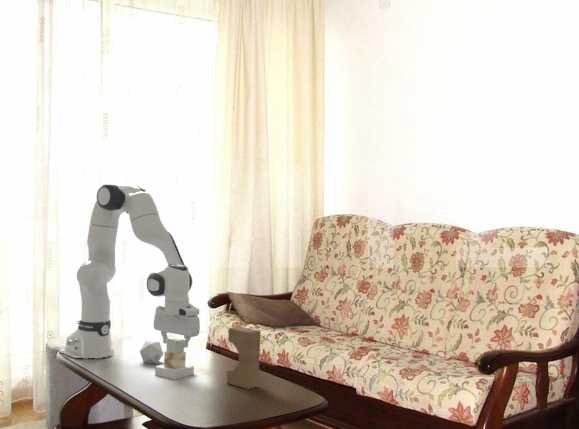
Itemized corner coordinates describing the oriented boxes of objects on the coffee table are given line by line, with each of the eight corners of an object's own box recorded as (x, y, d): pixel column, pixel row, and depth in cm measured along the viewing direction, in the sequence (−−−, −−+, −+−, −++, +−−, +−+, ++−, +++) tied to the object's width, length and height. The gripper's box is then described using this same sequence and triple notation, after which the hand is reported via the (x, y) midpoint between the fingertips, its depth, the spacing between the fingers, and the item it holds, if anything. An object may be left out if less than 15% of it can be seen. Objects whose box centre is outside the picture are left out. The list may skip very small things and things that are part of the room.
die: (151, 368, 280) (167, 346, 283) (132, 355, 281) (148, 333, 284) (154, 370, 288) (169, 349, 291) (136, 358, 289) (151, 337, 292)
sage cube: (166, 351, 269) (166, 339, 269) (174, 349, 273) (175, 337, 272) (175, 353, 266) (175, 341, 266) (183, 351, 270) (184, 339, 270)
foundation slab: (155, 374, 268) (155, 366, 268) (173, 369, 277) (174, 361, 277) (175, 379, 263) (175, 371, 263) (193, 374, 271) (194, 366, 271)
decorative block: (225, 383, 261) (227, 327, 260) (237, 380, 265) (239, 326, 264) (247, 390, 253) (250, 333, 252) (259, 387, 257) (261, 330, 257)
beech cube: (164, 366, 269) (164, 351, 269) (174, 363, 274) (174, 349, 273) (175, 369, 266) (175, 354, 266) (185, 366, 270) (185, 351, 270)
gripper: (150, 305, 272) (149, 342, 273) (191, 312, 261) (189, 351, 261) (162, 303, 277) (161, 339, 278) (203, 310, 266) (201, 348, 266)
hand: (175, 345), depth 269 cm, fingers open, 8 cm apart
